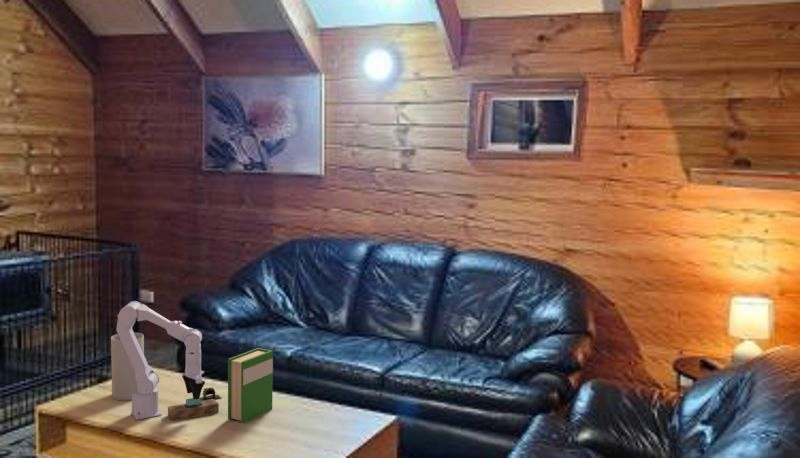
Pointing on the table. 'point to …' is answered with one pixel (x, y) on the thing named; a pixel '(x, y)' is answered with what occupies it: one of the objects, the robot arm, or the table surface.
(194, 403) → the teal rectangular block
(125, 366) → the cylinder vase
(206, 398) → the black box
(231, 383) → the hardback book
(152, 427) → the table surface
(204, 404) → the slotted beam
